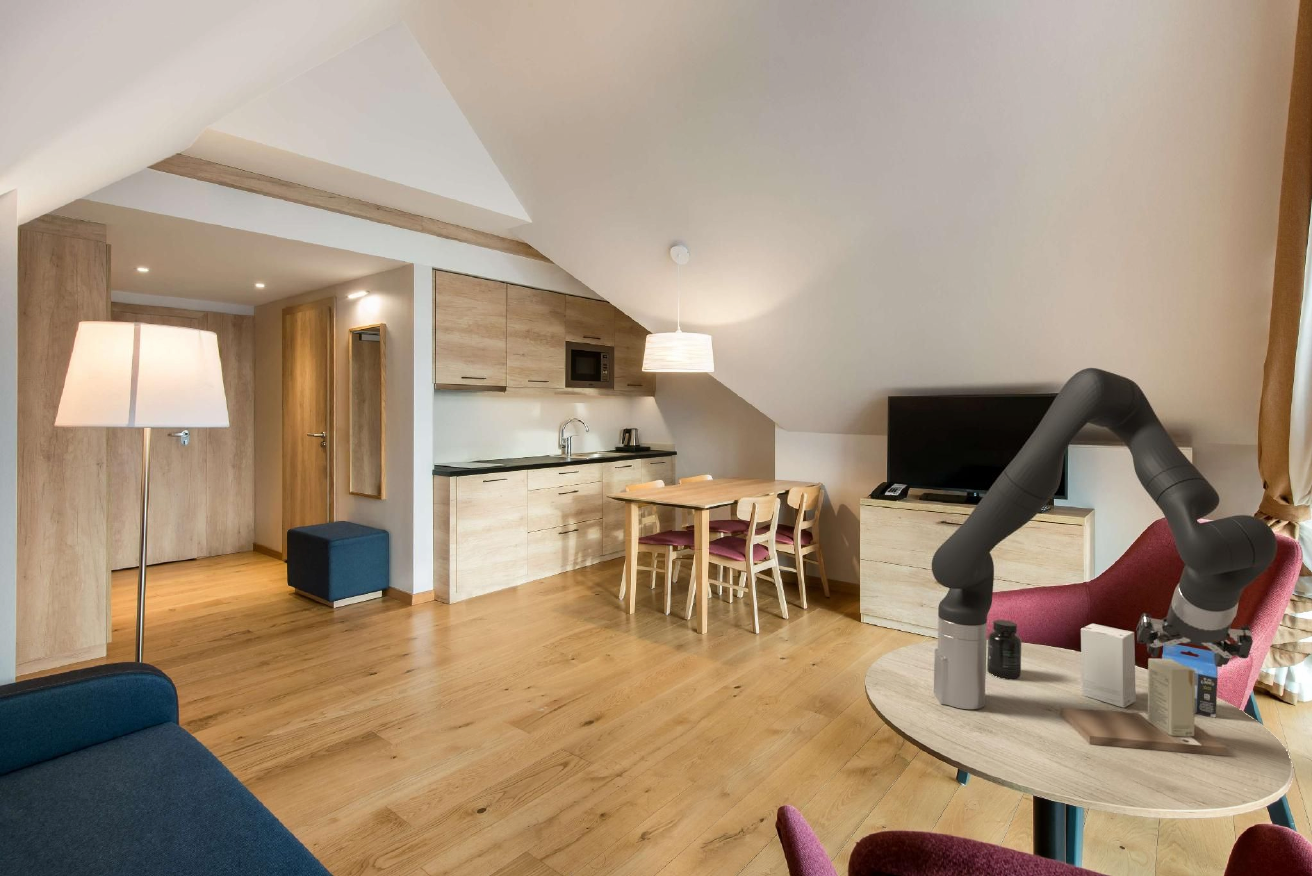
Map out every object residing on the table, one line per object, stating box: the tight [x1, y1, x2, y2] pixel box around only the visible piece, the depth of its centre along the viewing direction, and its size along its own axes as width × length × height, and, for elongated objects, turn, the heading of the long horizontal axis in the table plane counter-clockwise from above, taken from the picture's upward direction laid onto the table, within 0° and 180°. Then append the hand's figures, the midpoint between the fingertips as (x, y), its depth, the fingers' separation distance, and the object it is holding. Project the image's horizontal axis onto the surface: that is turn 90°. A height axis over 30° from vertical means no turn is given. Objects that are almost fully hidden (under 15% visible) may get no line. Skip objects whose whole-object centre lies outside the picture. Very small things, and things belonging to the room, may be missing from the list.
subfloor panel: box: [1060, 706, 1228, 756], centre depth 122 cm, size 22×12×2 cm, turn 80°
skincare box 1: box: [1080, 623, 1137, 708], centre depth 137 cm, size 8×6×15 cm
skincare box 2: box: [1147, 657, 1195, 736], centre depth 121 cm, size 6×4×12 cm
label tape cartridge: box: [1161, 644, 1219, 718], centre depth 133 cm, size 9×4×12 cm, turn 51°
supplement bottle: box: [986, 619, 1022, 680], centre depth 150 cm, size 7×7×12 cm
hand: (1184, 656), depth 111 cm, fingers open, 8 cm apart
